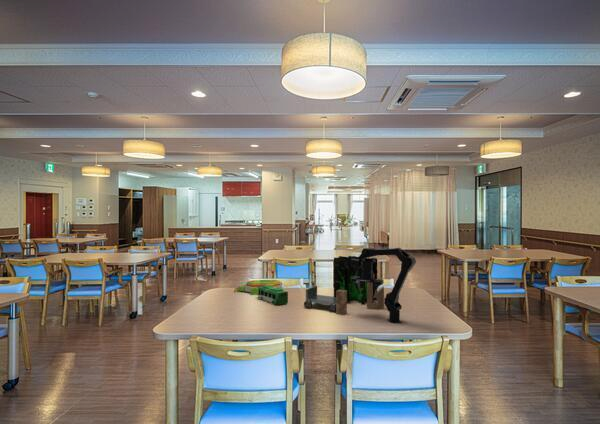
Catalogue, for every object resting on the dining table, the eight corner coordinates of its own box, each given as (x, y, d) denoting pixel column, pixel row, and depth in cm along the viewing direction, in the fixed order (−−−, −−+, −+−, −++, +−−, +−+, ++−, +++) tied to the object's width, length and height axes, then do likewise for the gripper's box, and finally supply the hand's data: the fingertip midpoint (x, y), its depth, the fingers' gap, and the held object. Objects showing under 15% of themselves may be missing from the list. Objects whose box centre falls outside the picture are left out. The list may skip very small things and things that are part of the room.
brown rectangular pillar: (346, 313, 223) (346, 290, 223) (343, 314, 219) (343, 291, 219) (339, 311, 226) (339, 289, 226) (336, 313, 221) (336, 291, 221)
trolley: (346, 306, 238) (346, 288, 238) (336, 312, 223) (336, 293, 223) (315, 302, 249) (315, 285, 249) (303, 308, 234) (303, 289, 235)
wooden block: (383, 309, 232) (384, 281, 232) (367, 308, 233) (367, 281, 233) (383, 307, 236) (383, 280, 236) (366, 307, 237) (366, 280, 237)
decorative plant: (352, 306, 239) (352, 261, 239) (326, 297, 265) (326, 256, 265) (384, 301, 254) (384, 258, 254) (357, 293, 279) (357, 254, 280)
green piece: (235, 288, 300) (235, 279, 300) (281, 287, 303) (281, 278, 303) (232, 296, 271) (232, 286, 271) (282, 295, 274) (282, 285, 274)
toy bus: (271, 297, 267) (271, 283, 267) (288, 304, 244) (288, 290, 244) (257, 298, 261) (257, 285, 261) (273, 307, 238) (273, 291, 238)
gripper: (386, 268, 218) (385, 294, 218) (357, 265, 227) (356, 290, 227) (381, 271, 209) (380, 297, 209) (350, 268, 217) (350, 293, 217)
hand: (366, 294), depth 216 cm, fingers open, 9 cm apart
